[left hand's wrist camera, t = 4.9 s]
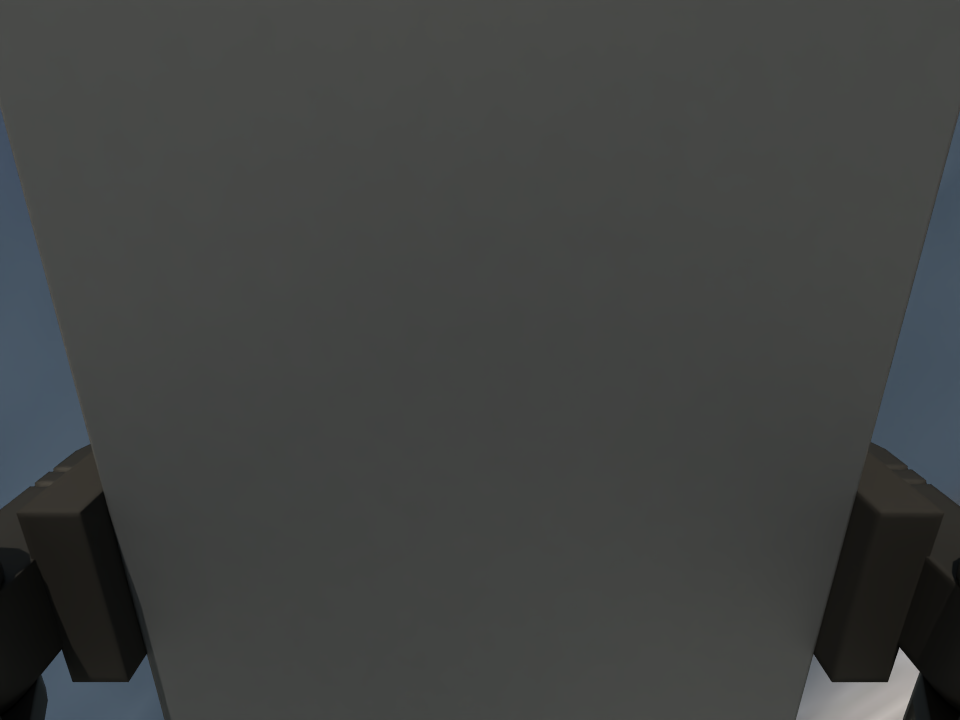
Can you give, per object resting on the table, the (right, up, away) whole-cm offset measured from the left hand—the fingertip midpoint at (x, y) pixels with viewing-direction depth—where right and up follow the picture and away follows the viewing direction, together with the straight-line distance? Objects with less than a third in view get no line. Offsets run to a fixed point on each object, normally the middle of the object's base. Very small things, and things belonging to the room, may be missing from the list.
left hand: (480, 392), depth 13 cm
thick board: (0, -26, +11) cm, 28 cm away
